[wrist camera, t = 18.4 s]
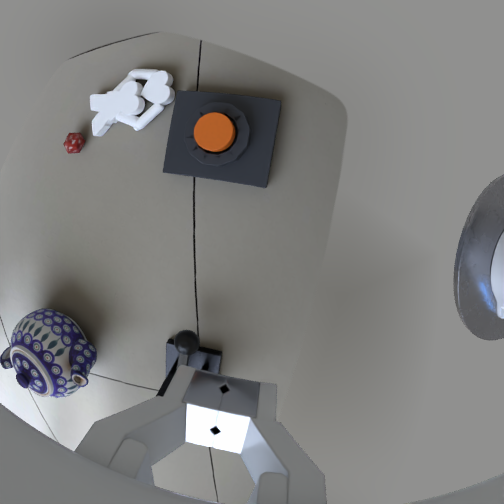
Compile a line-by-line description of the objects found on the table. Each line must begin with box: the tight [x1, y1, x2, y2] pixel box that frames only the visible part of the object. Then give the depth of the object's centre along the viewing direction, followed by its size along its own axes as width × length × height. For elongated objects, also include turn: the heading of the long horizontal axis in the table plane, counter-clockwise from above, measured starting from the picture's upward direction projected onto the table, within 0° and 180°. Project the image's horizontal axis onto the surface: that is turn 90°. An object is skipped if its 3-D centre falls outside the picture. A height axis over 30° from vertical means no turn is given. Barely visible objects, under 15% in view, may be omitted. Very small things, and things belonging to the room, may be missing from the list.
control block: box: [163, 91, 281, 188], centre depth 30 cm, size 12×10×4 cm
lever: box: [174, 330, 200, 371], centre depth 33 cm, size 13×3×3 cm, turn 170°
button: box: [194, 112, 235, 152], centre depth 28 cm, size 4×4×2 cm
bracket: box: [156, 339, 222, 397], centre depth 35 cm, size 10×8×12 cm
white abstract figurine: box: [90, 69, 175, 136], centre depth 31 cm, size 9×12×2 cm
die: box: [64, 133, 85, 153], centre depth 32 cm, size 3×3×3 cm
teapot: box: [0, 309, 97, 398], centre depth 35 cm, size 25×15×15 cm, turn 95°
